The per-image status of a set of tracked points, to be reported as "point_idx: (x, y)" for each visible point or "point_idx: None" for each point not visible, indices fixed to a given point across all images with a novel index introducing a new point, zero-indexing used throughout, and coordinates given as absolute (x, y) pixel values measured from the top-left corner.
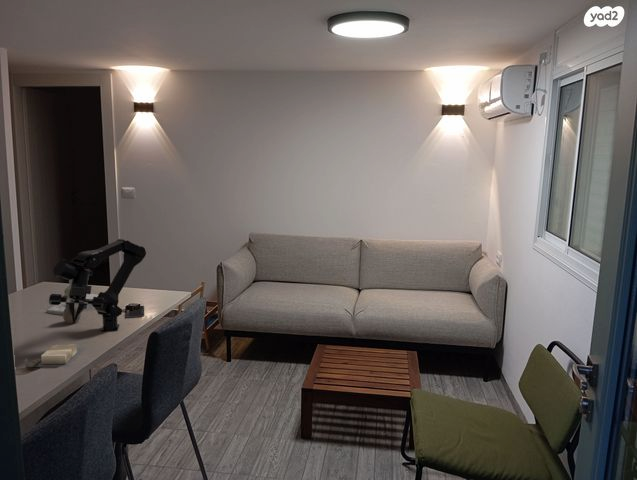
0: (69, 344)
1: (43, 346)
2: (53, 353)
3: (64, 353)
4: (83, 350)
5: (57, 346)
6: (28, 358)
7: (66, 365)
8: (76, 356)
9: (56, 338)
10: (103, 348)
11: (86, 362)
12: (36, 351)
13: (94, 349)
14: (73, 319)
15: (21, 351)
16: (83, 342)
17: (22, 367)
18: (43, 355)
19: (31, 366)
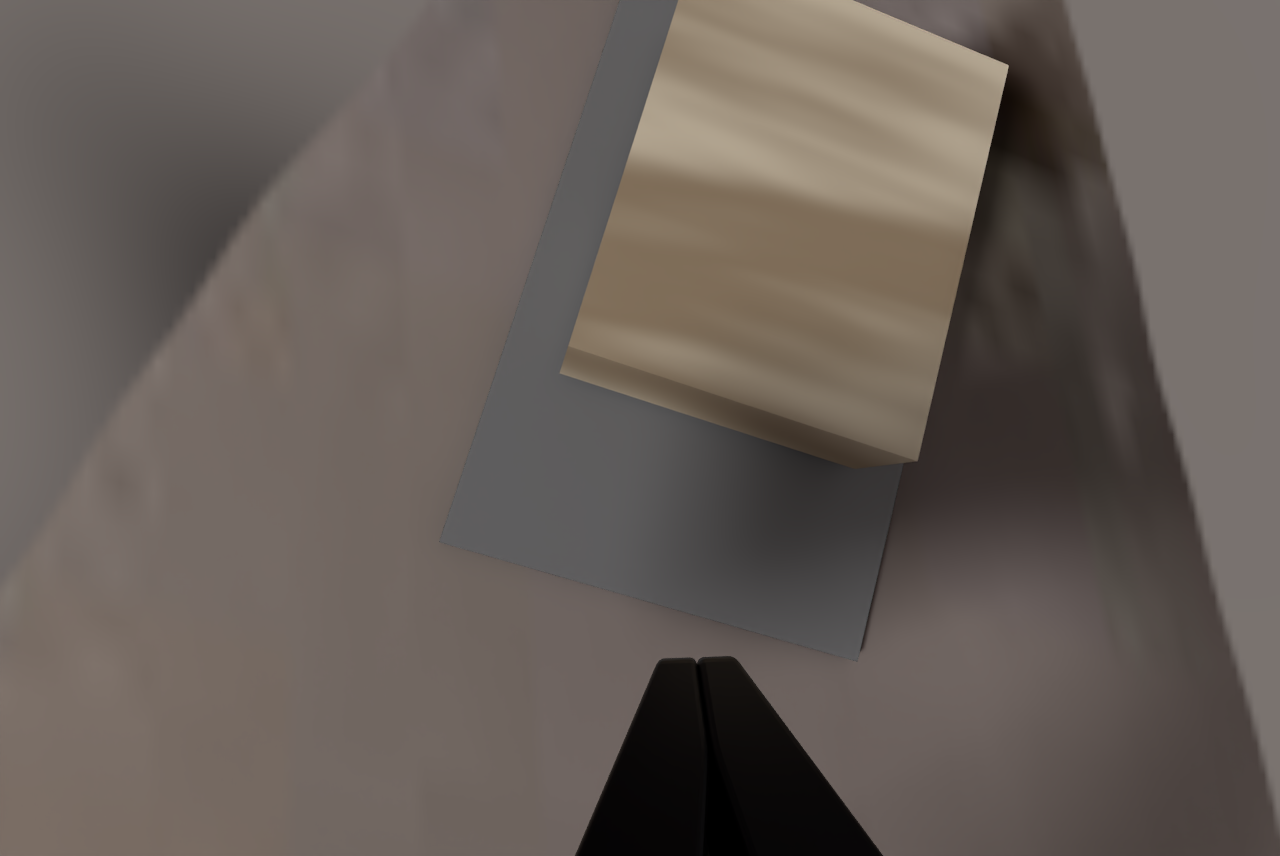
0: (684, 379)
1: (1023, 816)
2: (866, 80)
3: (716, 15)
4: (476, 448)
5: (854, 348)
6: (1104, 430)
7: (656, 5)
8: (559, 253)
9: None
10: (175, 489)
11: (421, 47)
12: (1068, 644)
13: (318, 488)
14: (740, 718)
15: (1229, 695)
16: (497, 853)
17: (1103, 183)
18: (982, 57)
19: (1023, 175)
